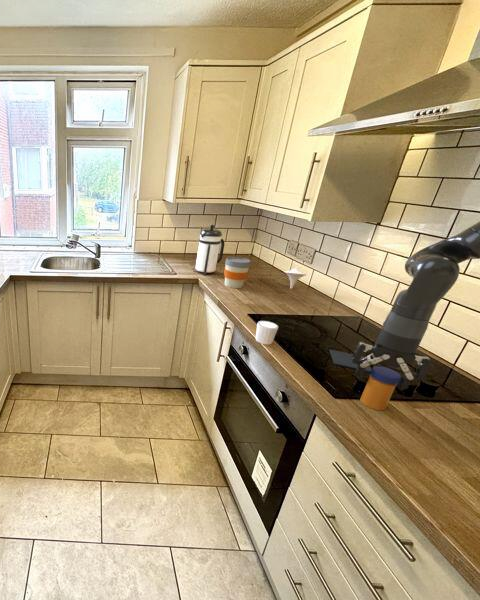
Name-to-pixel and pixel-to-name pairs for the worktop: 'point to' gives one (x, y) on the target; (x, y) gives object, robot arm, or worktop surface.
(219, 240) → the coffee press
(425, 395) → the worktop surface
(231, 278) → the reusable coffee cup
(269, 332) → the white cylinder
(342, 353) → the coaster
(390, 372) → the jar lid
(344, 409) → the worktop surface
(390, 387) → the jar
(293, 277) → the mushroom
